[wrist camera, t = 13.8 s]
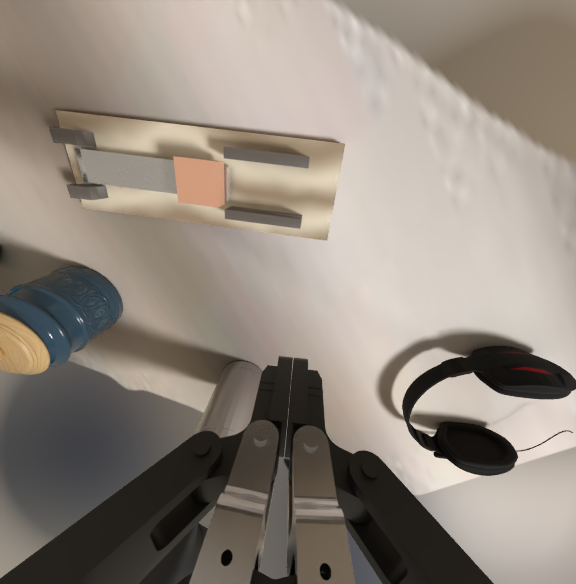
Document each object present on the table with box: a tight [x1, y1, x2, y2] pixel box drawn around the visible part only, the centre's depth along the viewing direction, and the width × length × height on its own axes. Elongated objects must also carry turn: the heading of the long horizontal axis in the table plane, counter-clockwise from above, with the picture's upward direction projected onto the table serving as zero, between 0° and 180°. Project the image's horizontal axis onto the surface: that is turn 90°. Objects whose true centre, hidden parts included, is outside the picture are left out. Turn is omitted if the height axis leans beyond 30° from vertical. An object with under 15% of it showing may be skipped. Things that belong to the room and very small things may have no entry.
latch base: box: [49, 110, 345, 240], centre depth 32 cm, size 12×37×5 cm, turn 84°
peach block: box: [173, 156, 225, 208], centre depth 29 cm, size 5×5×3 cm
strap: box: [74, 148, 231, 201], centre depth 32 cm, size 4×21×1 cm, turn 84°
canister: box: [0, 266, 123, 374], centre depth 38 cm, size 13×13×18 cm
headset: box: [402, 346, 576, 476], centre depth 44 cm, size 28×26×9 cm
